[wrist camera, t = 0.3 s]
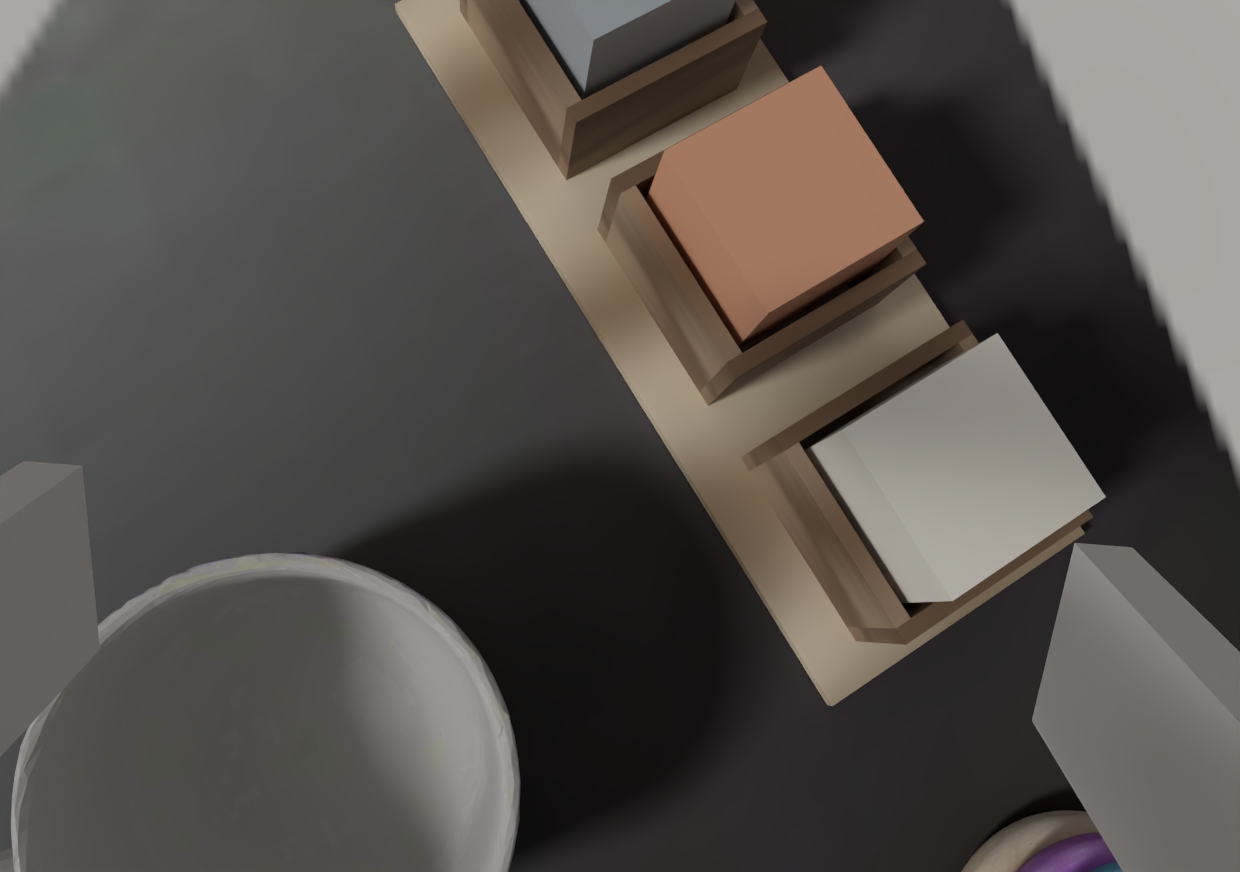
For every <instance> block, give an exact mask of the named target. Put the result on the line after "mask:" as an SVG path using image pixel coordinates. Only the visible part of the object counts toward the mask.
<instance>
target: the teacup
mask: <svg viewBox="0 0 1240 872" xmlns="http://www.w3.org/2000/svg"><path fill="white" fill-rule="evenodd" d="M98 634H99V644H100V650H99V651H98V652H97V653H96V654H95V655H94V656H93V658H92V659H91V660H90V661H89V662H88V663H87V664H86V665H85V666H84V667H83V668H82V669H81V670H80V672H79V673H78V674H77V675H76V676H75V677H74V678H73V679H72V680H71V681H70V682H69V683H68V684H67V686H66V687H65V688H64V689H63V690H62V691H61V692H60V693H59V694H58V695H57V696H56V697H55V698H54V700H53V701H52V702H51V703H50V704H49V705H48V706H47V707H46V708H45V709H44V710H43V711H42V712H41V714H40V715H39V716H38V717H37V718H36V719H35V720H34V721H33V722H32V723H31V724H30V725H29V728H28V730H27V732H26V735H25V737H24V739H23V742H22V744H21V747H20V752H19V756H18V761H17V765H16V771H15V778H14V784H13V791H12V808H11V836H12V848H10V849H7V850H5V851H2V852H0V872H509V869H510V865H511V861H512V857H513V853H514V848H515V843H516V837H517V832H518V826H519V821H520V817H519V804H520V784H521V780H520V771H519V761H518V752H517V747H516V741H515V735H514V732H513V729H512V725H511V721H510V716H509V712H508V709H507V707H506V704H505V702H504V699H503V697H502V694H501V692H500V690H499V687H498V685H497V683H496V681H495V678H494V676H493V675H492V673H491V671H490V669H489V667H488V665H487V664H486V662H485V661H484V659H483V657H482V656H481V654H480V653H479V651H478V650H477V648H476V647H475V646H474V645H473V643H472V642H471V641H470V639H469V638H468V637H467V636H466V635H465V633H464V632H463V631H462V630H461V629H460V628H459V626H458V625H457V624H456V623H455V622H454V621H453V620H452V619H451V618H450V617H449V616H447V615H446V614H445V613H444V612H443V611H442V610H441V609H440V608H438V607H437V606H436V605H434V604H433V603H432V602H430V601H429V600H428V599H426V598H425V597H424V596H422V595H421V594H419V593H417V592H416V591H414V590H413V589H411V588H410V587H408V586H406V585H405V584H403V583H402V582H400V581H397V580H395V579H393V578H391V577H389V576H387V575H385V574H383V573H381V572H379V571H376V570H373V569H371V568H368V567H366V566H363V565H360V564H357V563H354V562H351V561H347V560H343V559H339V558H334V557H329V556H323V555H315V554H310V553H305V552H265V553H248V554H246V555H243V556H235V557H228V558H224V559H220V560H217V561H213V562H210V563H206V564H202V565H197V566H194V567H192V568H190V569H188V570H186V571H184V572H181V573H179V574H176V575H173V576H171V577H169V578H167V579H166V580H165V581H163V582H162V583H160V584H157V585H155V586H153V587H151V588H149V589H147V590H145V591H144V592H142V593H141V594H139V595H137V596H136V597H134V598H132V599H131V600H129V601H128V602H126V604H125V605H124V606H122V607H121V608H119V609H118V610H116V611H114V612H113V613H112V614H111V615H109V616H108V617H107V618H106V619H104V620H103V621H102V622H101V623H100V624H99V625H98Z"/></svg>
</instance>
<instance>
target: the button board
mask: <svg viewBox="0 0 1240 872" xmlns="http://www.w3.org/2000/svg"><path fill="white" fill-rule="evenodd" d="M395 7H396V13H397V14H398V16H399V18H400V19H401V21H402V22H403V24H404V26H405V27H406V29H407V30H408V32H409V34H410V35H411V37H412V38H413V40H414V42H415V43H416V45H417V47H418V48H419V50H420V51H421V53H422V55H423V56H424V58H425V59H426V61H427V63H428V64H429V66H430V67H431V69H432V71H433V72H434V74H435V75H436V77H437V79H438V80H439V82H440V83H441V85H442V87H443V88H444V90H445V92H446V93H447V95H448V96H449V98H450V100H451V101H452V103H453V104H454V106H455V108H456V109H457V111H458V112H459V114H460V116H461V117H462V119H463V120H464V122H465V124H466V125H467V127H468V128H469V130H470V132H471V133H472V135H473V137H474V138H475V140H476V141H477V143H478V145H479V146H480V148H481V149H482V151H483V153H484V154H485V156H486V157H487V159H488V161H489V162H490V164H491V165H492V167H493V169H494V170H495V172H496V173H497V175H498V177H499V178H500V180H501V182H502V183H503V185H504V186H505V188H506V190H507V191H508V193H509V194H510V196H511V198H512V199H513V201H514V202H515V204H516V206H517V207H518V209H519V210H520V212H521V214H522V215H523V217H524V218H525V220H526V222H527V223H528V225H529V227H530V228H531V230H532V231H533V233H534V235H535V236H536V238H537V239H538V241H539V243H540V244H541V246H542V247H543V249H544V251H545V252H546V254H547V255H548V257H549V259H550V260H551V262H552V264H553V265H554V267H555V268H556V270H557V272H558V273H559V275H560V276H561V278H562V280H563V281H564V283H565V284H566V286H567V288H568V289H569V291H570V292H571V294H572V296H573V297H574V299H575V300H576V302H577V304H578V305H579V307H580V309H581V310H582V312H583V313H584V315H585V317H586V318H587V320H588V321H589V323H590V325H591V326H592V328H593V329H594V331H595V333H596V334H597V336H598V337H599V339H600V341H601V342H602V344H603V345H604V347H605V349H606V350H607V352H608V354H609V355H610V357H611V358H612V360H613V362H614V363H615V365H616V366H617V368H618V370H619V371H620V373H621V374H622V376H623V378H624V379H625V381H626V382H627V384H628V386H629V387H630V389H631V390H632V392H633V394H634V395H635V397H636V399H637V400H638V402H639V403H640V405H641V407H642V408H643V410H644V411H645V413H646V415H647V416H648V418H649V419H650V421H651V423H652V424H653V426H654V427H655V429H656V431H657V432H658V434H659V435H660V437H661V439H662V440H663V442H664V444H665V445H666V447H667V448H668V450H669V452H670V453H671V455H672V456H673V458H674V460H675V461H676V463H677V464H678V466H679V468H680V469H681V471H682V472H683V474H684V476H685V477H686V479H687V480H688V482H689V484H690V485H691V487H692V489H693V490H694V492H695V493H696V495H697V497H698V498H699V500H700V501H701V503H702V505H703V506H704V508H705V509H706V511H707V513H708V514H709V516H710V517H711V519H712V521H713V522H714V524H715V525H716V527H717V529H718V530H719V532H720V534H721V535H722V537H723V538H724V540H725V542H726V543H727V545H728V546H729V548H730V550H731V551H732V553H733V554H734V556H735V558H736V559H737V561H738V562H739V564H740V566H741V567H742V569H743V570H744V572H745V574H746V575H747V577H748V579H749V580H750V582H751V583H752V585H753V587H754V588H755V590H756V591H757V593H758V595H759V596H760V598H761V599H762V601H763V603H764V604H765V606H766V607H767V609H768V611H769V612H770V614H771V615H772V617H773V619H774V620H775V622H776V624H777V625H778V627H779V628H780V630H781V632H782V633H783V635H784V636H785V638H786V640H787V641H788V643H789V644H790V646H791V648H792V649H793V651H794V652H795V654H796V656H797V657H798V659H799V660H800V662H801V664H802V665H803V667H804V669H805V670H806V672H807V673H808V675H809V677H810V678H811V680H812V681H813V683H814V685H815V686H816V688H817V689H818V691H819V693H820V694H821V696H822V697H823V699H824V701H825V702H826V704H827V705H829V706H833V705H835V704H836V703H838V702H839V701H841V700H842V699H844V698H845V697H847V696H848V695H850V694H851V693H852V692H854V691H855V690H857V689H858V688H860V687H861V686H863V685H864V684H866V683H867V682H869V681H870V680H871V679H873V678H874V677H876V676H877V675H879V674H880V673H882V672H883V671H885V670H886V669H888V668H889V667H890V666H892V665H893V664H895V663H896V662H898V661H899V660H901V659H902V658H904V657H905V656H907V655H908V654H909V653H911V652H912V651H914V650H915V649H917V648H918V647H920V646H921V645H923V644H924V643H926V642H927V641H928V640H930V639H931V638H933V637H934V636H936V635H937V634H939V633H940V632H942V631H943V630H945V629H946V628H947V627H949V626H950V625H952V624H953V623H955V622H956V621H958V620H959V619H961V618H962V617H963V616H965V615H966V614H968V613H969V612H971V611H972V610H974V609H975V608H977V607H978V606H980V605H981V604H982V603H984V602H985V601H987V600H988V599H990V598H991V597H993V596H994V595H996V594H997V593H999V592H1000V591H1001V590H1003V589H1004V588H1006V587H1007V586H1009V585H1010V584H1012V583H1013V582H1015V581H1016V580H1018V579H1019V578H1020V577H1022V576H1023V575H1025V574H1026V573H1028V572H1029V571H1031V570H1032V569H1034V568H1035V567H1037V566H1038V565H1039V564H1041V563H1042V562H1044V561H1045V560H1047V559H1048V558H1050V557H1051V556H1053V555H1054V554H1056V553H1057V552H1058V551H1060V550H1061V549H1063V548H1064V547H1066V546H1067V545H1069V544H1070V543H1072V542H1073V541H1075V540H1076V539H1077V538H1079V537H1080V536H1082V535H1083V534H1085V533H1084V531H1083V530H1082V528H1081V527H1080V526H1081V525H1082V524H1084V523H1085V522H1087V521H1088V520H1090V519H1091V518H1093V516H1092V515H1091V513H1090V512H1089V510H1088V509H1087V510H1086V511H1085V512H1083V513H1082V514H1080V515H1079V516H1077V517H1076V518H1074V519H1073V520H1071V521H1070V522H1068V523H1067V524H1065V525H1064V526H1062V527H1061V528H1059V529H1058V530H1057V531H1055V532H1054V533H1052V534H1051V535H1049V536H1048V537H1046V538H1045V539H1043V540H1042V541H1040V542H1039V543H1037V544H1036V545H1034V546H1033V547H1032V548H1030V549H1029V550H1027V551H1026V552H1024V553H1023V554H1021V555H1020V556H1018V557H1017V558H1015V559H1014V560H1012V561H1011V562H1009V563H1008V564H1006V565H1005V566H1004V567H1002V568H1001V569H999V570H998V571H996V572H995V573H993V574H992V575H990V576H989V577H987V578H986V579H984V580H983V581H981V582H980V583H979V584H977V585H976V586H974V587H973V588H971V589H970V590H968V591H967V592H965V593H964V594H962V595H961V596H959V597H958V598H956V599H955V600H954V601H942V602H915V603H901V602H900V601H899V599H898V598H897V596H896V595H895V593H894V591H893V590H892V588H891V587H890V585H889V584H888V582H887V580H886V579H885V577H884V576H883V574H882V573H881V571H880V569H879V568H878V566H877V565H876V563H875V562H874V560H873V558H872V557H871V555H870V554H869V552H868V550H867V549H866V547H865V546H864V544H863V543H862V541H861V539H860V538H859V536H858V535H857V533H856V532H855V530H854V528H853V527H852V525H851V524H850V522H849V521H848V519H847V517H846V516H845V514H844V513H843V511H842V510H841V508H840V506H839V505H838V503H837V502H836V500H835V498H834V497H833V495H832V494H831V492H830V491H829V489H828V487H827V486H826V484H825V483H824V481H823V480H822V478H821V476H820V475H819V473H818V472H817V470H816V469H815V467H814V465H813V464H812V462H811V461H810V459H809V458H808V456H807V454H806V453H805V451H804V450H805V449H806V448H808V447H810V446H811V445H813V444H814V443H816V442H818V441H819V440H821V439H822V438H824V437H826V436H827V435H829V434H830V433H832V432H834V431H835V430H837V429H838V428H840V427H842V426H843V425H845V424H846V423H848V422H850V421H851V420H853V419H854V418H856V417H858V416H859V415H861V414H862V413H864V412H866V411H867V410H869V409H870V408H872V407H874V406H875V405H877V404H878V403H880V402H882V401H883V400H885V399H887V398H888V397H890V396H891V395H893V394H895V393H896V392H898V391H899V390H901V389H903V388H904V387H906V386H907V385H909V384H911V383H912V382H914V381H915V380H917V379H919V378H920V377H922V376H923V375H925V374H927V373H928V372H930V371H931V370H933V369H935V368H936V367H938V366H940V365H942V364H943V363H945V362H947V361H949V360H951V359H952V358H954V357H956V356H958V355H959V354H961V353H963V352H965V351H966V350H968V349H970V348H972V347H974V346H975V345H977V344H979V343H978V341H977V340H976V338H975V337H974V335H973V334H972V332H971V331H970V329H969V328H968V326H967V325H966V323H965V322H964V320H961V321H960V322H958V323H956V324H955V325H953V326H951V327H949V325H948V324H947V322H946V321H945V319H944V318H943V316H942V315H941V313H940V312H939V310H938V309H937V307H936V306H935V304H934V303H933V301H932V299H931V298H930V296H929V295H928V293H927V292H926V290H925V289H924V287H923V286H922V284H921V283H920V281H919V280H918V278H917V277H916V275H915V273H916V272H917V271H918V270H919V269H921V268H922V267H923V266H924V265H926V262H925V261H924V259H923V258H922V256H921V255H920V253H919V252H918V250H917V249H916V247H915V246H914V244H913V242H912V241H911V239H910V238H909V236H908V237H907V238H905V239H904V240H903V241H902V242H901V243H900V244H899V245H898V246H897V247H896V248H895V249H894V250H892V251H891V252H890V253H889V254H888V255H887V256H886V257H885V258H884V259H883V260H882V261H880V262H879V263H878V264H877V265H876V266H875V267H874V268H873V269H872V270H871V271H869V272H867V273H866V274H864V275H862V276H861V277H859V278H857V279H856V280H854V281H852V282H851V283H849V284H847V285H845V286H844V287H842V288H840V289H839V290H837V291H835V292H834V293H832V294H830V295H829V296H827V297H825V298H824V299H822V300H820V301H818V302H817V303H815V304H813V305H812V306H810V307H808V308H807V309H805V310H803V311H802V312H800V313H798V314H797V315H795V316H793V317H791V318H790V319H788V320H786V321H785V322H783V323H781V324H780V325H778V326H776V327H775V328H773V329H771V330H770V331H768V332H766V333H765V334H763V335H761V336H759V337H758V338H756V339H754V340H753V341H751V342H749V343H748V344H746V345H744V346H743V347H741V348H739V347H738V346H737V344H736V343H735V341H734V339H733V338H732V336H731V335H730V333H729V331H728V330H727V328H726V327H725V325H724V324H723V322H722V320H721V319H720V317H719V316H718V314H717V313H716V311H715V309H714V308H713V306H712V305H711V303H710V302H709V300H708V298H707V297H706V295H705V294H704V292H703V291H702V289H701V287H700V286H699V284H698V283H697V281H696V279H695V278H694V276H693V275H692V273H691V272H690V270H689V268H688V267H687V265H686V264H685V262H684V261H683V259H682V257H681V256H680V254H679V253H678V251H677V250H676V248H675V246H674V245H673V243H672V242H671V240H670V239H669V237H668V235H667V234H666V232H665V231H664V229H663V228H662V226H661V224H660V223H659V221H658V220H657V218H656V216H655V215H654V213H653V212H652V210H651V209H650V207H649V205H648V204H647V202H646V199H647V196H648V194H649V191H650V188H651V185H652V183H653V180H654V177H655V175H656V172H657V169H658V166H659V164H660V161H661V158H662V155H663V153H664V150H666V149H668V148H670V147H672V146H673V145H675V144H677V143H679V142H681V141H683V140H685V139H686V138H688V137H690V136H692V135H694V134H696V133H697V132H699V131H701V130H703V129H705V128H707V127H709V126H710V125H712V124H714V123H716V122H718V121H720V120H721V119H723V118H725V117H727V116H729V115H731V114H733V113H734V112H736V111H738V110H740V109H742V108H744V107H746V106H747V105H749V104H751V103H753V102H755V101H757V100H758V99H760V98H762V97H764V96H766V95H768V94H770V93H771V92H773V91H775V90H777V89H779V88H781V87H782V86H784V85H786V84H788V83H790V82H792V81H794V80H795V79H794V80H792V81H790V82H789V81H788V80H787V78H786V77H785V75H784V74H783V72H782V71H781V69H780V68H779V66H778V65H777V63H776V62H775V60H774V59H773V57H772V55H771V54H770V52H769V51H768V49H767V48H766V46H765V45H764V43H763V42H762V40H761V39H760V37H761V35H762V33H763V31H764V28H765V26H766V24H767V20H766V19H765V17H764V16H763V14H762V13H761V11H760V10H759V8H758V7H757V5H756V4H755V2H754V1H753V0H735V2H734V5H733V7H732V10H731V12H730V15H729V18H728V20H727V23H726V25H725V26H723V27H721V28H719V29H717V30H715V31H713V32H711V33H710V34H708V35H706V36H704V37H702V38H700V39H698V40H696V41H694V42H692V43H690V44H688V45H687V46H685V47H683V48H681V49H679V50H677V51H675V52H673V53H671V54H669V55H667V56H665V57H664V58H662V59H660V60H658V61H656V62H654V63H652V64H650V65H648V66H646V67H644V68H642V69H641V70H639V71H637V72H635V73H633V74H631V75H629V76H627V77H625V78H623V79H621V80H619V81H618V82H616V83H614V84H612V85H610V86H608V87H606V88H604V89H602V90H600V91H598V92H596V93H594V94H593V95H591V96H589V97H587V98H585V99H583V100H581V98H580V97H579V95H578V94H577V92H576V90H575V89H574V87H573V86H572V84H571V83H570V81H569V79H568V78H567V76H566V75H565V73H564V72H563V70H562V68H561V67H560V65H559V64H558V62H557V61H556V59H555V57H554V56H553V54H552V53H551V51H550V49H549V48H548V46H547V45H546V43H545V42H544V40H543V38H542V37H541V35H540V34H539V32H538V31H537V29H536V27H535V26H534V24H533V23H532V21H531V20H530V18H529V16H528V15H527V13H526V12H525V10H524V9H523V7H522V5H521V4H520V2H519V1H518V0H402V1H400V2H398V3H396V4H395ZM802 76H803V75H802ZM800 77H801V76H800ZM798 78H799V77H798ZM796 79H797V78H796Z"/></svg>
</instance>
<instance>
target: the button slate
mask: <svg viewBox="0 0 1240 872" xmlns="http://www.w3.org/2000/svg"><path fill="white" fill-rule="evenodd" d="M518 1H519V2H520V4H521V5H522V7H523V9H524V10H525V12H526V13H527V15H528V16H529V18H530V20H531V21H532V23H533V24H534V26H535V27H536V29H537V31H538V32H539V34H540V35H541V37H542V38H543V40H544V42H545V43H546V45H547V46H548V48H549V49H550V51H551V53H552V54H553V56H554V57H555V59H556V61H557V62H558V64H559V65H560V67H561V68H562V70H563V72H564V73H565V75H566V76H567V78H568V79H569V81H570V83H571V84H572V86H573V87H574V89H575V90H576V92H577V94H578V95H579V97H580V98H581V100H583V99H585V98H587V97H589V96H591V95H593V94H594V93H596V92H598V91H600V90H602V89H604V88H606V87H608V86H610V85H612V84H614V83H616V82H618V81H619V80H621V79H623V78H625V77H627V76H629V75H631V74H633V73H635V72H637V71H639V70H641V69H642V68H644V67H646V66H648V65H650V64H652V63H654V62H656V61H658V60H660V59H662V58H664V57H665V56H667V55H669V54H671V53H673V52H675V51H677V50H679V49H681V48H683V47H685V46H687V45H688V44H690V43H692V42H694V41H696V40H698V39H700V38H702V37H704V36H706V35H708V34H710V33H711V32H713V31H715V30H717V29H719V28H721V27H723V26H725V25H726V23H727V20H728V18H729V15H730V12H731V10H732V7H733V5H734V2H735V0H518Z"/></svg>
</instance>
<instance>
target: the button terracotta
mask: <svg viewBox="0 0 1240 872" xmlns="http://www.w3.org/2000/svg"><path fill="white" fill-rule="evenodd" d="M646 202H647V204H648V205H649V207H650V209H651V210H652V212H653V213H654V215H655V216H656V218H657V220H658V221H659V223H660V224H661V226H662V228H663V229H664V231H665V232H666V234H667V235H668V237H669V239H670V240H671V242H672V243H673V245H674V246H675V248H676V250H677V251H678V253H679V254H680V256H681V257H682V259H683V261H684V262H685V264H686V265H687V267H688V268H689V270H690V272H691V273H692V275H693V276H694V278H695V279H696V281H697V283H698V284H699V286H700V287H701V289H702V291H703V292H704V294H705V295H706V297H707V298H708V300H709V302H710V303H711V305H712V306H713V308H714V309H715V311H716V313H717V314H718V316H719V317H720V319H721V320H722V322H723V324H724V325H725V327H726V328H727V330H728V331H729V333H730V335H731V336H732V338H733V339H734V341H735V343H736V344H737V346H738V347H739V348H741V347H743V346H744V345H746V344H748V343H749V342H751V341H753V340H754V339H756V338H758V337H759V336H761V335H763V334H765V333H766V332H768V331H770V330H771V329H773V328H775V327H776V326H778V325H780V324H781V323H783V322H785V321H786V320H788V319H790V318H791V317H793V316H795V315H797V314H798V313H800V312H802V311H803V310H805V309H807V308H808V307H810V306H812V305H813V304H815V303H817V302H818V301H820V300H822V299H824V298H825V297H827V296H829V295H830V294H832V293H834V292H835V291H837V290H839V289H840V288H842V287H844V286H845V285H847V284H849V283H851V282H852V281H854V280H856V279H857V278H859V277H861V276H862V275H864V274H866V273H867V272H869V271H871V270H872V269H873V268H874V267H875V266H876V265H877V264H878V263H879V262H880V261H882V260H883V259H884V258H885V257H886V256H887V255H888V254H889V253H890V252H891V251H892V250H894V249H895V248H896V247H897V246H898V245H899V244H900V243H901V242H902V241H903V240H904V239H905V238H907V237H908V236H909V235H910V234H911V233H912V232H913V231H914V230H915V229H916V228H917V227H919V226H920V225H921V224H922V223H923V222H924V221H923V219H922V218H921V216H920V215H919V213H918V212H917V210H916V209H915V207H914V206H913V204H912V202H911V201H910V199H909V198H908V196H907V195H906V193H905V192H904V190H903V189H902V187H901V186H900V184H899V183H898V181H897V180H896V178H895V177H894V175H893V174H892V172H891V171H890V169H889V168H888V166H887V165H886V163H885V162H884V160H883V159H882V157H881V155H880V154H879V152H878V151H877V149H876V148H875V146H874V145H873V143H872V142H871V140H870V139H869V137H868V136H867V134H866V133H865V131H864V130H863V128H862V127H861V125H860V124H859V122H858V121H857V119H856V118H855V116H854V115H853V113H852V112H851V110H850V109H849V107H848V105H847V104H846V102H845V101H844V99H843V98H842V96H841V95H840V93H839V92H838V90H837V89H836V87H835V86H834V84H833V83H832V81H831V80H830V78H829V77H828V75H827V74H826V72H825V71H824V69H823V68H822V66H819V67H818V68H816V69H814V70H812V71H810V72H808V73H806V74H805V75H803V76H801V77H799V78H797V79H795V80H794V81H792V82H790V83H788V84H786V85H784V86H782V87H781V88H779V89H777V90H775V91H773V92H771V93H770V94H768V95H766V96H764V97H762V98H760V99H758V100H757V101H755V102H753V103H751V104H749V105H747V106H746V107H744V108H742V109H740V110H738V111H736V112H734V113H733V114H731V115H729V116H727V117H725V118H723V119H721V120H720V121H718V122H716V123H714V124H712V125H710V126H709V127H707V128H705V129H703V130H701V131H699V132H697V133H696V134H694V135H692V136H690V137H688V138H686V139H685V140H683V141H681V142H679V143H677V144H675V145H673V146H672V147H670V148H668V149H666V150H664V153H663V155H662V158H661V161H660V164H659V166H658V169H657V172H656V175H655V177H654V180H653V183H652V185H651V188H650V191H649V194H648V196H647V199H646Z"/></svg>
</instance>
